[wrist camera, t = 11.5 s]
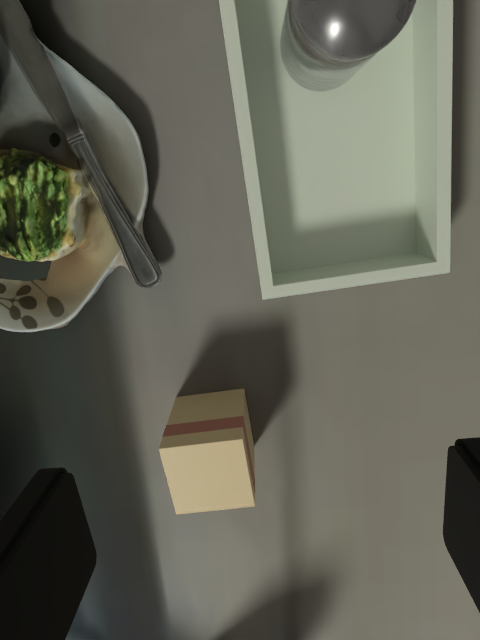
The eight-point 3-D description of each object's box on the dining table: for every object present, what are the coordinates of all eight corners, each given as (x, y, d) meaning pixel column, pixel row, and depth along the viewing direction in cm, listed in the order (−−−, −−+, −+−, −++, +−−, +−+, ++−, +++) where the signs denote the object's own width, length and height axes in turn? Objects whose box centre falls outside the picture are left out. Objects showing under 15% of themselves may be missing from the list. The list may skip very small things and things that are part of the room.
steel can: (366, -21, 21) (419, -111, 14) (370, 84, 22) (421, 47, 16) (273, -3, 21) (284, -82, 14) (284, 99, 23) (298, 69, 16)
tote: (420, -102, 20) (454, -157, 17) (424, 259, 26) (449, 272, 23) (211, -57, 21) (204, -102, 17) (261, 283, 27) (262, 299, 23)
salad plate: (240, 177, 25) (239, 177, 21) (85, 378, 30) (57, 413, 25) (-49, -74, 21) (-126, -138, 17) (-173, 203, 26) (-258, 208, 22)
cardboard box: (244, 387, 29) (242, 438, 24) (254, 445, 31) (255, 506, 25) (176, 396, 30) (158, 448, 24) (189, 453, 32) (176, 514, 26)
